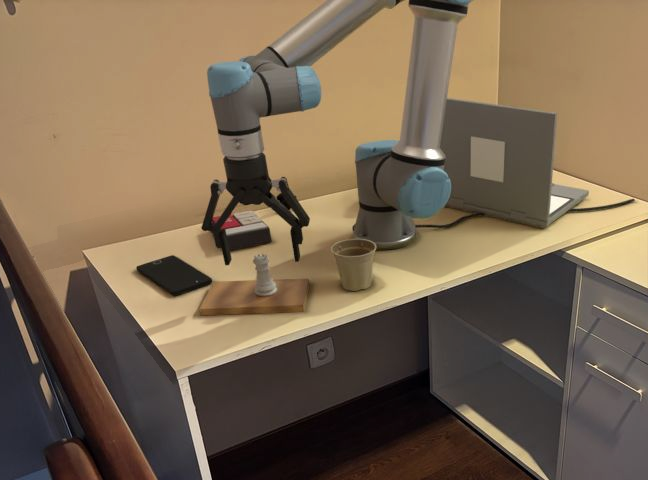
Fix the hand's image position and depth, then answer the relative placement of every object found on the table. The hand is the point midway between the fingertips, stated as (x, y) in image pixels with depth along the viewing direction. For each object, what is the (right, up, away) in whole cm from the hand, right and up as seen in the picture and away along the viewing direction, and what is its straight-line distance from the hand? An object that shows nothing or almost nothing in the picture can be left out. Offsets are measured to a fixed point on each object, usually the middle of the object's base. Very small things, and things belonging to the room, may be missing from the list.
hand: (263, 260), depth 136 cm
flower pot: (+17, -4, +10) cm, 20 cm away
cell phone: (-23, -2, +13) cm, 27 cm away
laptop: (+54, +23, +52) cm, 78 cm away
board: (-2, -7, +4) cm, 9 cm away
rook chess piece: (0, -6, +4) cm, 7 cm away
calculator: (-14, +10, +32) cm, 37 cm away
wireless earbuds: (-7, +20, +47) cm, 52 cm away
